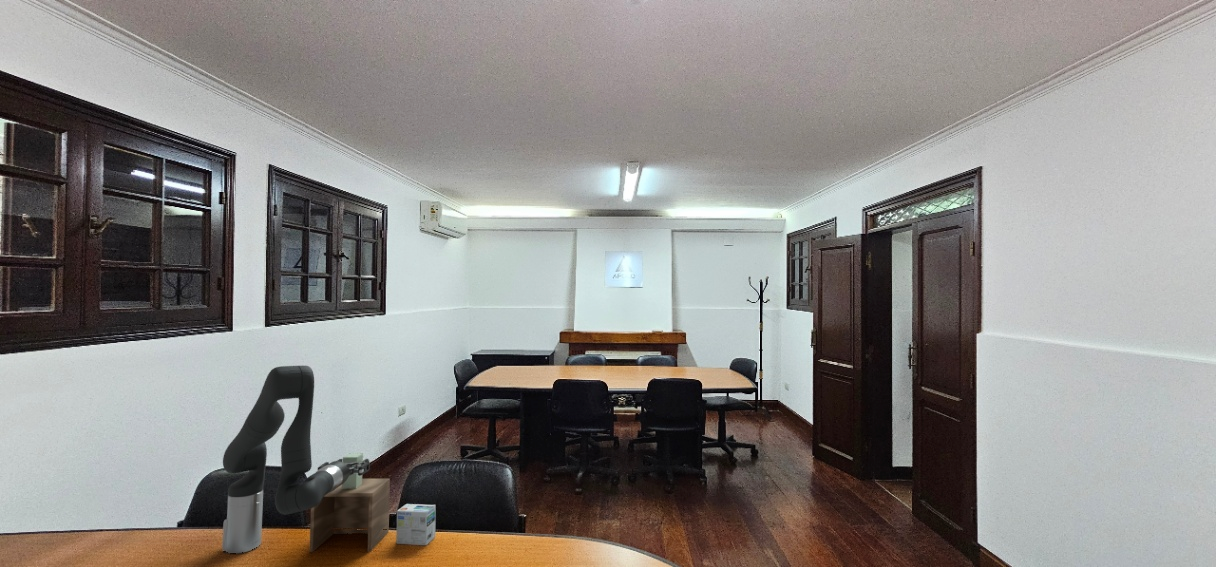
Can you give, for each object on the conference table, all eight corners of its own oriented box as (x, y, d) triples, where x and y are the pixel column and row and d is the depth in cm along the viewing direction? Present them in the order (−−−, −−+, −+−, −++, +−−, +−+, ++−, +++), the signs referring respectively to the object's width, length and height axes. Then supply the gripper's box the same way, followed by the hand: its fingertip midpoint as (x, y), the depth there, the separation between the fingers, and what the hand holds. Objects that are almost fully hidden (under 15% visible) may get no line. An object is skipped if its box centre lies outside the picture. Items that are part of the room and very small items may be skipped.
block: (341, 488, 165) (342, 457, 166) (348, 484, 170) (349, 453, 170) (356, 488, 165) (357, 457, 166) (362, 483, 170) (363, 453, 170)
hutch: (309, 551, 160) (311, 493, 161) (331, 532, 174) (333, 478, 175) (370, 551, 160) (372, 493, 161) (388, 532, 174) (389, 478, 175)
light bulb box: (435, 536, 171) (436, 504, 172) (426, 546, 164) (427, 512, 165) (405, 535, 172) (406, 502, 173) (395, 544, 166) (396, 510, 166)
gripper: (354, 464, 154) (376, 450, 170) (305, 465, 153) (332, 450, 169) (353, 490, 153) (375, 473, 169) (304, 490, 153) (332, 473, 169)
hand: (354, 461), depth 169 cm, fingers open, 8 cm apart
